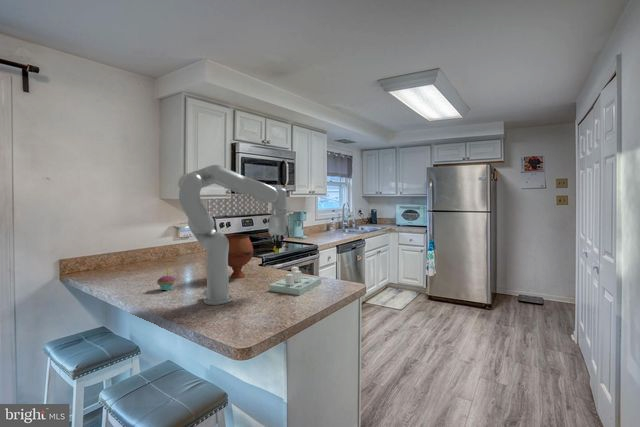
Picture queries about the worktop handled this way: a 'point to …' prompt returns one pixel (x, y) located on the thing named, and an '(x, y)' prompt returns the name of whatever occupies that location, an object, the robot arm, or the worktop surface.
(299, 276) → the switch
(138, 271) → the worktop surface
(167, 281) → the cupcake
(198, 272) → the worktop surface
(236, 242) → the goblet
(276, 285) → the switch box
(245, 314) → the worktop surface
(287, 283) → the switch
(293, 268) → the switch
